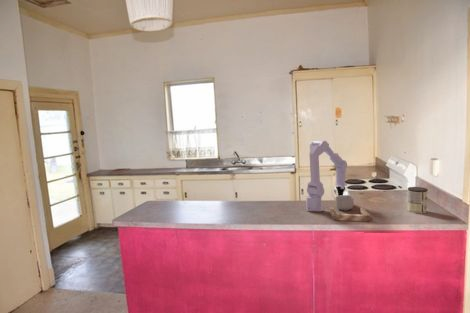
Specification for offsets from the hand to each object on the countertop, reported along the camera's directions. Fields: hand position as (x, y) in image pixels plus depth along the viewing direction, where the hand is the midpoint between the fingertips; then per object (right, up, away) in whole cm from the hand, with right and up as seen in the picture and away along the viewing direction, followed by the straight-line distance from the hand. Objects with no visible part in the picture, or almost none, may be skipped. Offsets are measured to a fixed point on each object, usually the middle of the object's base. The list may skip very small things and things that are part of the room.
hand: (340, 197), depth 212 cm
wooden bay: (-4, -7, -28) cm, 29 cm away
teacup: (-2, -6, -12) cm, 13 cm away
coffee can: (+39, -6, -22) cm, 45 cm away
